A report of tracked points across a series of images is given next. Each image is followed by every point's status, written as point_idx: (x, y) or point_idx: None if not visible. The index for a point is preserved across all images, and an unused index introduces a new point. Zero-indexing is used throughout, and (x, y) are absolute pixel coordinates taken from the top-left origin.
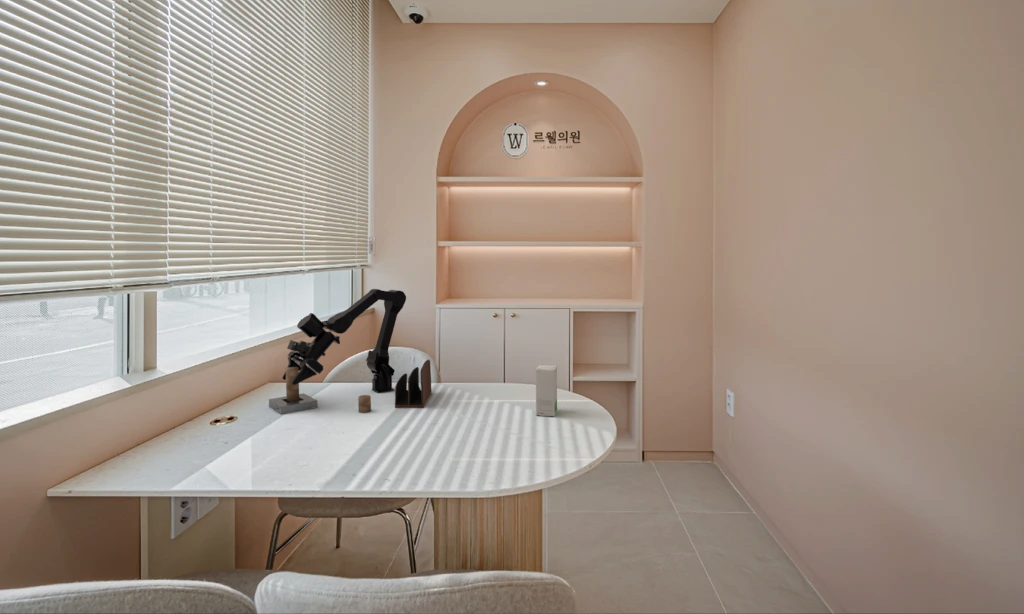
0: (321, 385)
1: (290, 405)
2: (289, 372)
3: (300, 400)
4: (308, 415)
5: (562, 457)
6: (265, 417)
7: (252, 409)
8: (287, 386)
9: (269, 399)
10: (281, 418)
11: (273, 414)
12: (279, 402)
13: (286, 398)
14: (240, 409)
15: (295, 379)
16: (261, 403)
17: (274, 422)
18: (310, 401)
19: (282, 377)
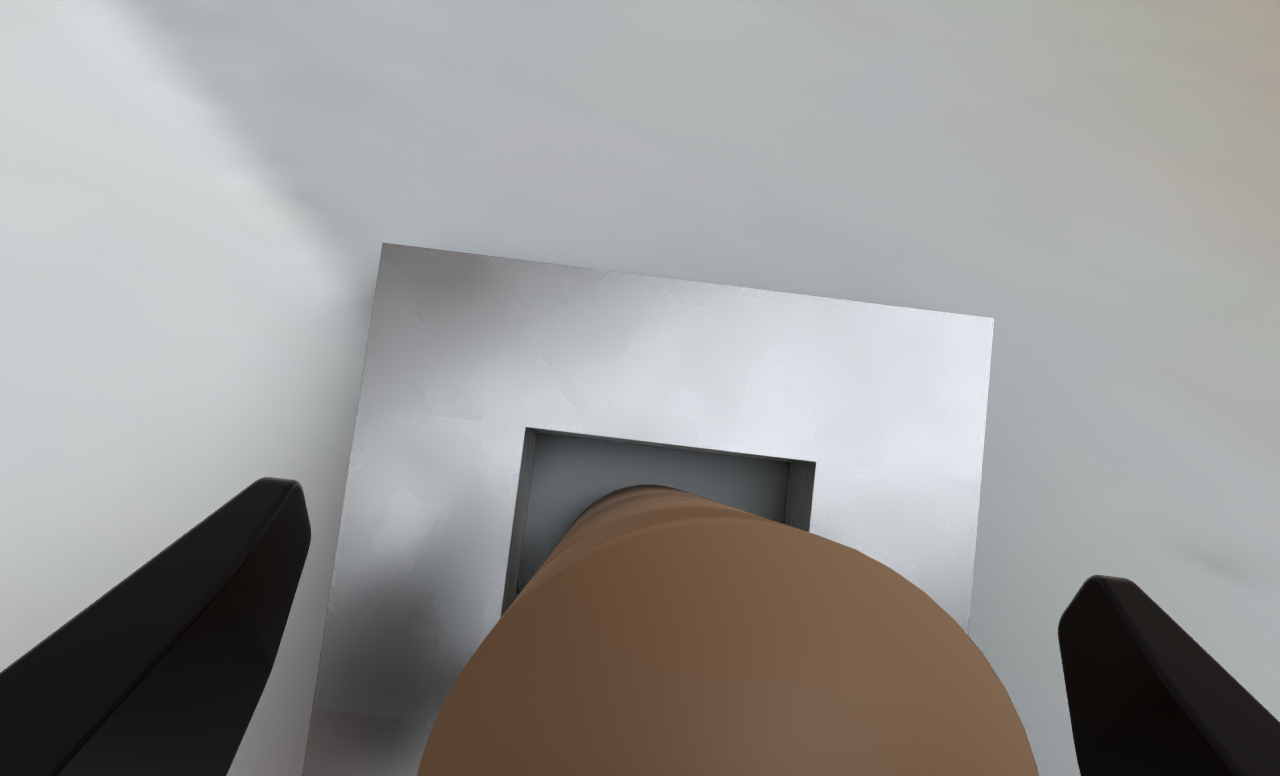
0: None
1: (363, 400)
2: (541, 578)
3: None
4: (50, 517)
5: None
6: (445, 64)
7: (966, 113)
8: (638, 497)
9: (973, 321)
10: (226, 187)
11: (498, 200)
12: (658, 348)
13: None
14: (1087, 4)
15: (155, 568)
16: (1192, 336)
17: (128, 44)
18: (305, 758)
19: (1139, 589)
